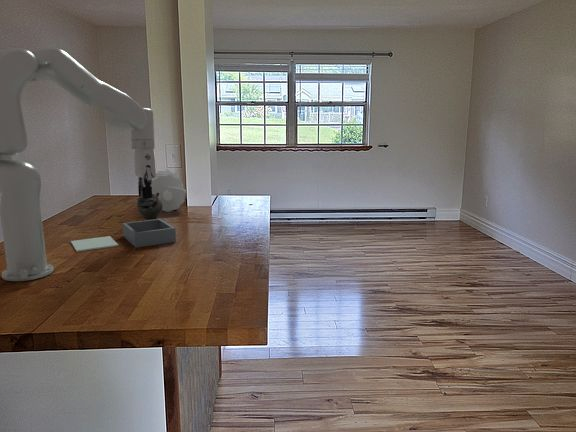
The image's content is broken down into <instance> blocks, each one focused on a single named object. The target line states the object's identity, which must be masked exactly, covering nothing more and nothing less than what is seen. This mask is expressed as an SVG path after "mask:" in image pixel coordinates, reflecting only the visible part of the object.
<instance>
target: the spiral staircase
mask: <svg viewBox="0 0 576 432" xmlns="http://www.w3.org/2000/svg"><path fill="white" fill-rule="evenodd" d="M156 193H159V196H158V197H159V198H160V199H161V201H162V204H163V207H162V211H164V212H167V213H169V212H168V211H170V212H171V211H174V210H175V211H176V210H177V209H179V210H180V206H181V205H182V204H184V203H185V201H186V199H185V196H186V194H187V190H186V189H185V188H184V184H183V182H182V180H181V177H179V175H178V174H177V172H172V171H171V170H169V169H166V170H157V172H156V177H155V178H152V194H155V195H156Z"/></svg>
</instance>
